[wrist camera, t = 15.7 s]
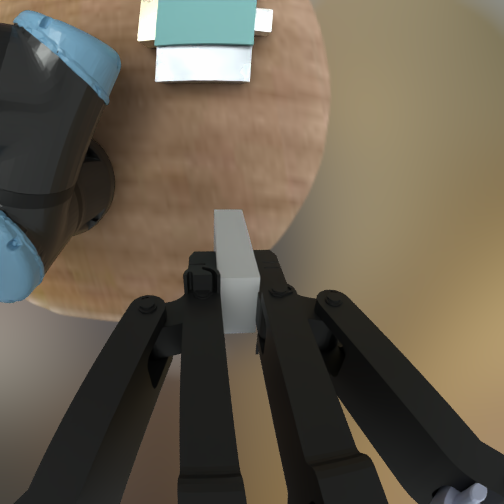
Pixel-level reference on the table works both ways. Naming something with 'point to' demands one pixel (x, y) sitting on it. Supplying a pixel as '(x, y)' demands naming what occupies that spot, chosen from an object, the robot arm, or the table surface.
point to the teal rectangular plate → (205, 22)
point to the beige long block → (150, 14)
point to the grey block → (203, 64)
